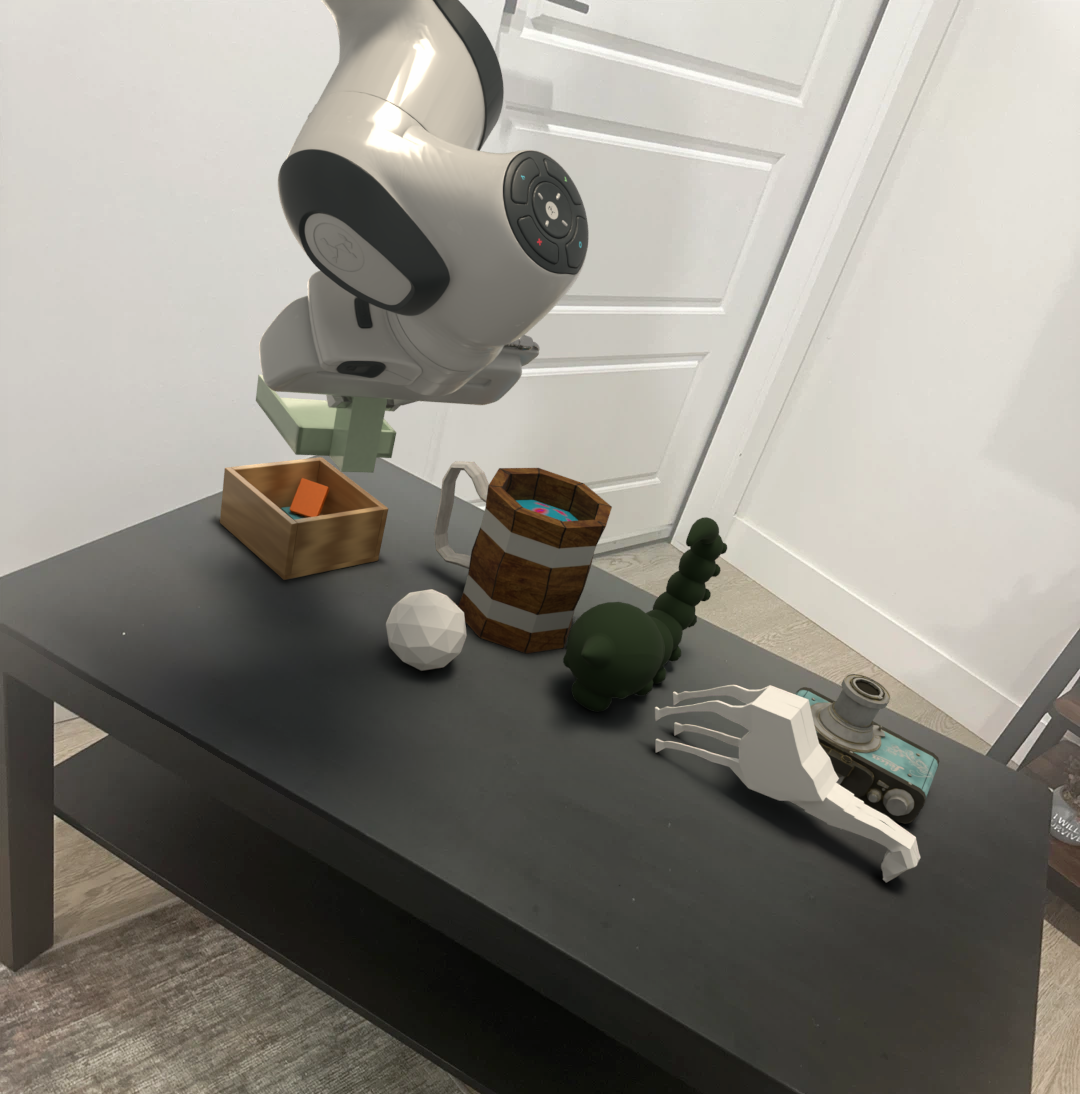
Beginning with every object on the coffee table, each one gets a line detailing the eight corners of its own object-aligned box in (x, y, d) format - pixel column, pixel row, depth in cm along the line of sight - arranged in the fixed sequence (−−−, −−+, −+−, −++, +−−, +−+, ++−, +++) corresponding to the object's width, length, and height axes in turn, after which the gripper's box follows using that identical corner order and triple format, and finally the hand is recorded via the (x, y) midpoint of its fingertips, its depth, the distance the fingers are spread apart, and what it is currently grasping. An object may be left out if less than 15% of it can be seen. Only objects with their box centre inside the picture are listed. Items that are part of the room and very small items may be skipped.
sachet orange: (328, 486, 111) (329, 489, 111) (301, 477, 111) (303, 480, 111) (316, 519, 110) (317, 521, 111) (289, 509, 110) (290, 512, 111)
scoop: (405, 473, 87) (428, 362, 81) (307, 471, 82) (324, 352, 76) (346, 406, 95) (363, 302, 89) (255, 400, 90) (267, 289, 84)
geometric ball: (403, 670, 100) (413, 593, 100) (474, 678, 97) (484, 598, 97) (365, 662, 93) (376, 579, 93) (441, 670, 90) (452, 584, 90)
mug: (593, 628, 112) (636, 511, 103) (531, 669, 101) (572, 542, 93) (459, 550, 118) (489, 433, 109) (387, 581, 107) (414, 454, 99)
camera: (970, 719, 99) (955, 762, 91) (923, 788, 104) (905, 834, 96) (822, 643, 103) (795, 678, 95) (784, 713, 108) (756, 752, 101)
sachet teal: (305, 504, 113) (304, 510, 114) (281, 507, 111) (280, 513, 112) (324, 521, 111) (323, 527, 112) (299, 524, 109) (298, 530, 110)
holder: (283, 580, 102) (291, 524, 98) (219, 522, 108) (224, 467, 104) (378, 560, 110) (388, 508, 107) (314, 508, 116) (321, 456, 112)
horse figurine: (655, 834, 100) (909, 900, 87) (653, 686, 93) (928, 734, 80) (676, 812, 103) (922, 872, 91) (675, 668, 96) (942, 712, 84)
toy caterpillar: (626, 640, 115) (515, 702, 95) (689, 492, 105) (580, 526, 85) (694, 680, 112) (594, 752, 92) (766, 531, 103) (671, 576, 82)
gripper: (544, 302, 76) (461, 373, 88) (290, 267, 65) (233, 353, 77) (556, 381, 76) (471, 442, 88) (304, 359, 65) (245, 432, 77)
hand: (358, 400), depth 82 cm, fingers closed on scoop, 3 cm apart
